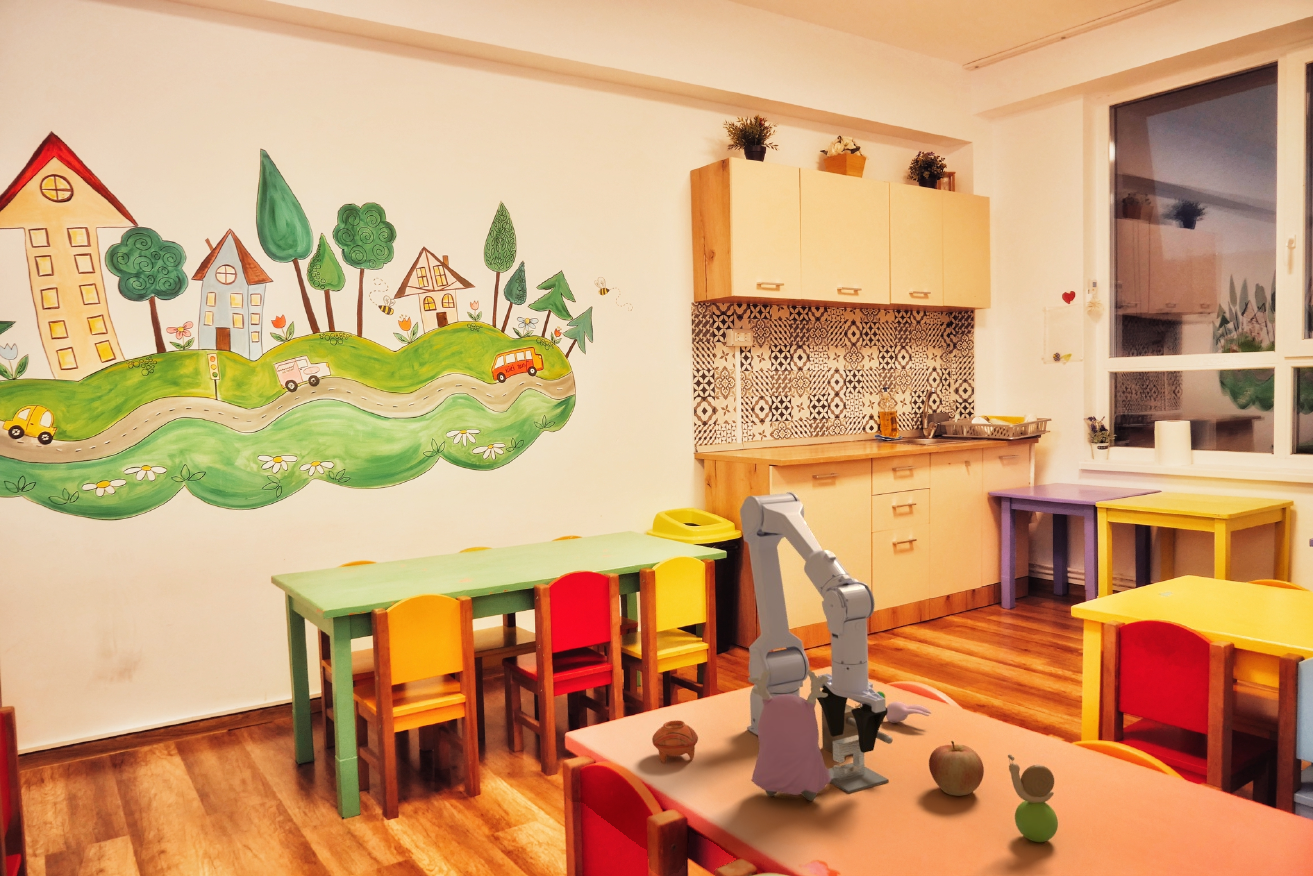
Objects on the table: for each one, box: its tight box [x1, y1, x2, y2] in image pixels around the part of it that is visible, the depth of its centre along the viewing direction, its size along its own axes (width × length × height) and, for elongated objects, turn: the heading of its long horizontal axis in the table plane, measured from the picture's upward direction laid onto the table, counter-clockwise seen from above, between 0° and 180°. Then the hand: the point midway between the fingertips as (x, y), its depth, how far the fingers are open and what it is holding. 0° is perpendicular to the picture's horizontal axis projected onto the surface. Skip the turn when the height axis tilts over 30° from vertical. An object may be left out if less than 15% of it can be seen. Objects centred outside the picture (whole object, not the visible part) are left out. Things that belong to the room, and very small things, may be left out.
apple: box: [928, 740, 985, 797], centre depth 137 cm, size 8×8×8 cm
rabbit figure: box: [854, 691, 932, 724], centre depth 167 cm, size 6×6×15 cm
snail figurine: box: [1007, 753, 1059, 843], centre depth 122 cm, size 5×6×12 cm
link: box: [832, 735, 866, 782], centre depth 143 cm, size 2×5×6 cm, turn 117°
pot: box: [651, 720, 699, 763], centre depth 154 cm, size 8×8×7 cm
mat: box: [827, 762, 889, 794], centre depth 143 cm, size 8×8×1 cm
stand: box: [821, 703, 893, 757], centre depth 150 cm, size 16×4×8 cm, turn 26°
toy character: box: [747, 669, 831, 802], centre depth 137 cm, size 12×10×20 cm
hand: (851, 742), depth 143 cm, fingers open, 7 cm apart
